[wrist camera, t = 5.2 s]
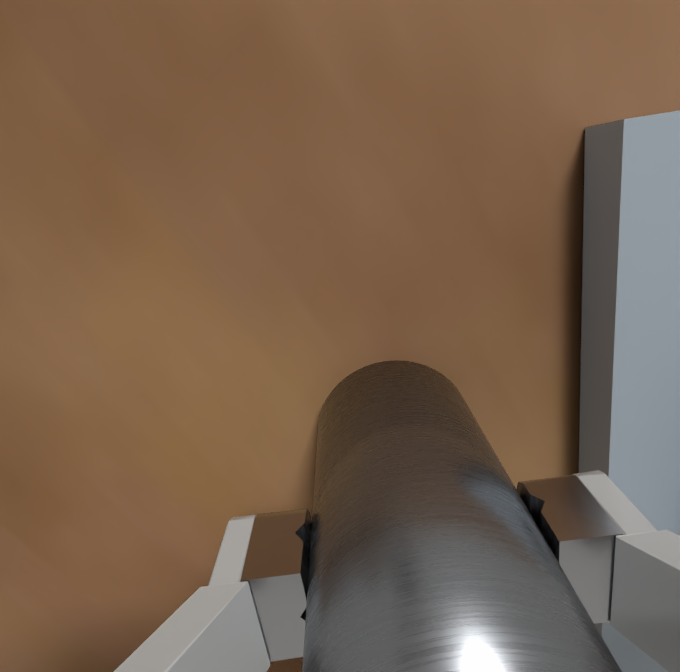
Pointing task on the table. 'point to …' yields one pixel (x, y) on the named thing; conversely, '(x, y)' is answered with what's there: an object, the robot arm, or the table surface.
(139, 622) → the table surface
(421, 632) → the cell
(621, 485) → the tester cradle
